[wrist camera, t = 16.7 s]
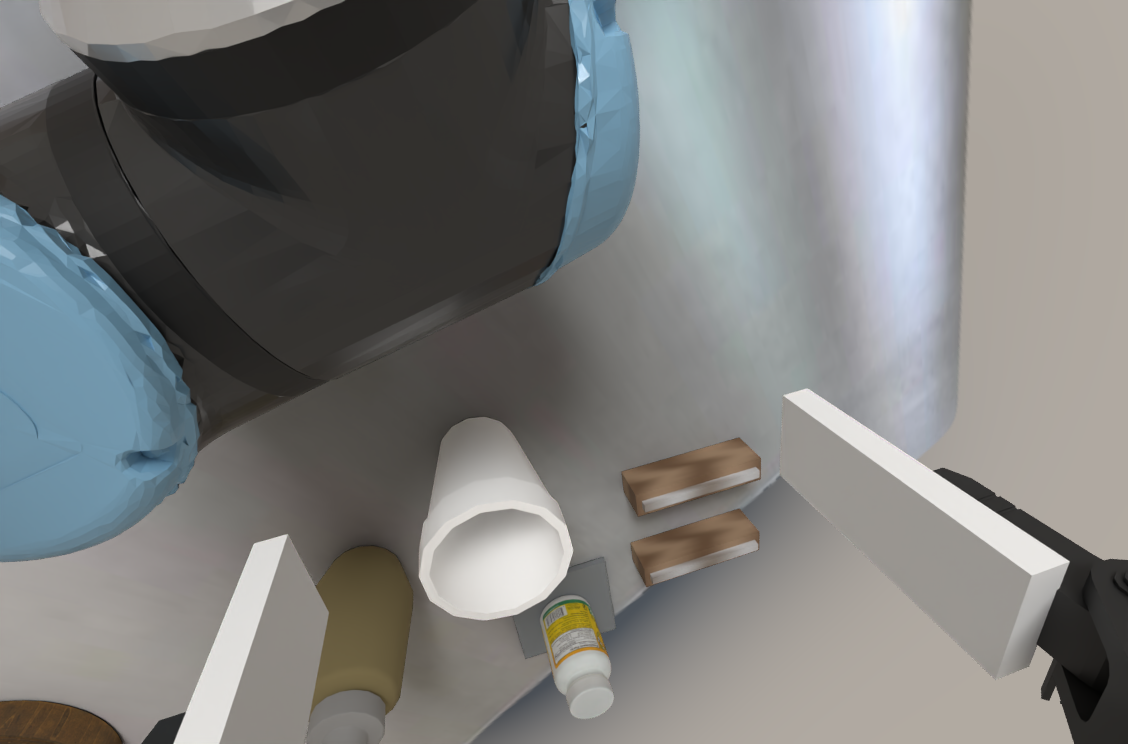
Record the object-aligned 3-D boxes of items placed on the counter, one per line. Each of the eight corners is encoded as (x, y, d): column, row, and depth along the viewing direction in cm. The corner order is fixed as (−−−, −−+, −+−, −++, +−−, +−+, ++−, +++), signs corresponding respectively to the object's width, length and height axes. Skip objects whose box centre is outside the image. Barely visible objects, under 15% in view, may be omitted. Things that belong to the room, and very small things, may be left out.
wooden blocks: (632, 559, 53) (648, 591, 50) (621, 471, 48) (638, 499, 45) (739, 525, 55) (762, 554, 51) (739, 437, 50) (764, 461, 46)
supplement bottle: (545, 593, 51) (570, 684, 43) (595, 592, 53) (629, 679, 44) (534, 633, 53) (555, 728, 45) (583, 631, 55) (613, 721, 46)
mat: (524, 654, 55) (525, 659, 54) (505, 587, 51) (506, 592, 50) (614, 623, 57) (615, 628, 56) (603, 557, 52) (604, 561, 52)
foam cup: (543, 477, 46) (583, 590, 35) (441, 510, 45) (448, 639, 34) (517, 385, 42) (554, 479, 31) (403, 419, 41) (397, 531, 29)
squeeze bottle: (404, 606, 48) (396, 838, 33) (309, 603, 46) (250, 853, 30) (423, 537, 46) (425, 752, 30) (324, 529, 43) (267, 761, 27)
